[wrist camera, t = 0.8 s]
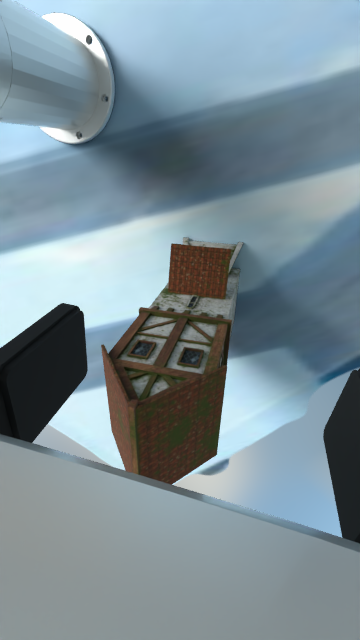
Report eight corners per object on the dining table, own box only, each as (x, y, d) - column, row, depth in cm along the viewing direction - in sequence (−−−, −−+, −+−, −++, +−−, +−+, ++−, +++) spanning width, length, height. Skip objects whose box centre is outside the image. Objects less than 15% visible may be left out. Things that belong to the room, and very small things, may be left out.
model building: (251, 231, 41) (221, 364, 15) (239, 327, 48) (203, 528, 22) (178, 225, 43) (42, 334, 17) (176, 318, 50) (78, 492, 24)
